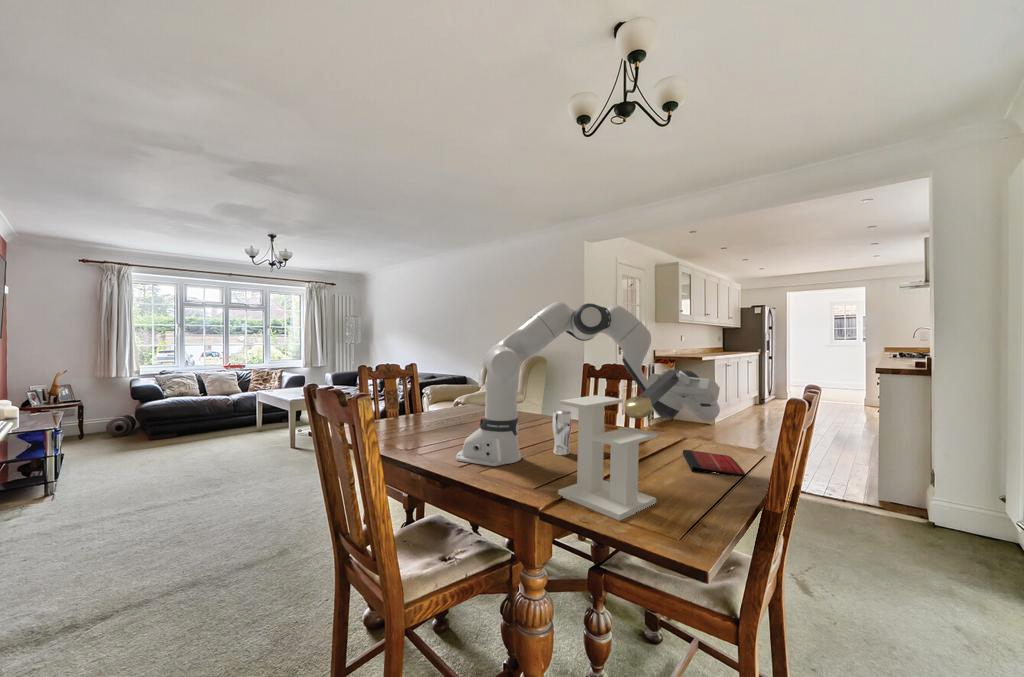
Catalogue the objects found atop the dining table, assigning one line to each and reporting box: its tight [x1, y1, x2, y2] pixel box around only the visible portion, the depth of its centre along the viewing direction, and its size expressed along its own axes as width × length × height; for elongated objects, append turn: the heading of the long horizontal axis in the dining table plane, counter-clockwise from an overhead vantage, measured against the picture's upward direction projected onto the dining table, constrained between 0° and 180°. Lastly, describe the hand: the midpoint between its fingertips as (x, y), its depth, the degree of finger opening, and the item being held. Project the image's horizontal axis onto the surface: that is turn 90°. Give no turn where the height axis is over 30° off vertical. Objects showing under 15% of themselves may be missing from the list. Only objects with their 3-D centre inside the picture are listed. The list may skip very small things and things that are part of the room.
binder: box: [682, 449, 745, 477], centre depth 147 cm, size 16×2×21 cm
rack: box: [557, 394, 659, 522], centre depth 116 cm, size 16×20×26 cm
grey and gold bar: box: [623, 369, 680, 419], centre depth 122 cm, size 24×7×3 cm, turn 131°
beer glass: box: [552, 409, 573, 456], centre depth 158 cm, size 7×7×15 cm
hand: (670, 374), depth 128 cm, fingers closed on grey and gold bar, 3 cm apart
